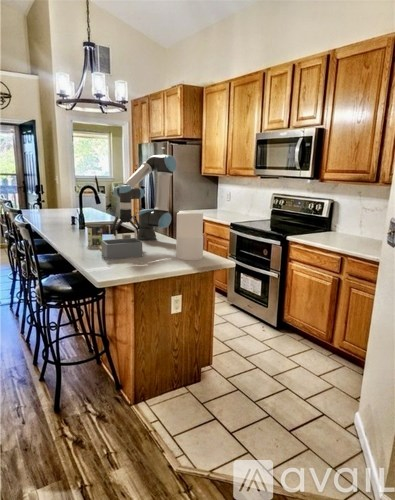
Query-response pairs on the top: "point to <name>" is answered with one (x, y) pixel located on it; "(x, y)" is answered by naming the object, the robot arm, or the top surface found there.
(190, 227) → the cylinder
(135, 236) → the robot arm
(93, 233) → the coffee can
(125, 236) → the lid
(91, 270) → the top surface
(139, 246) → the tub
